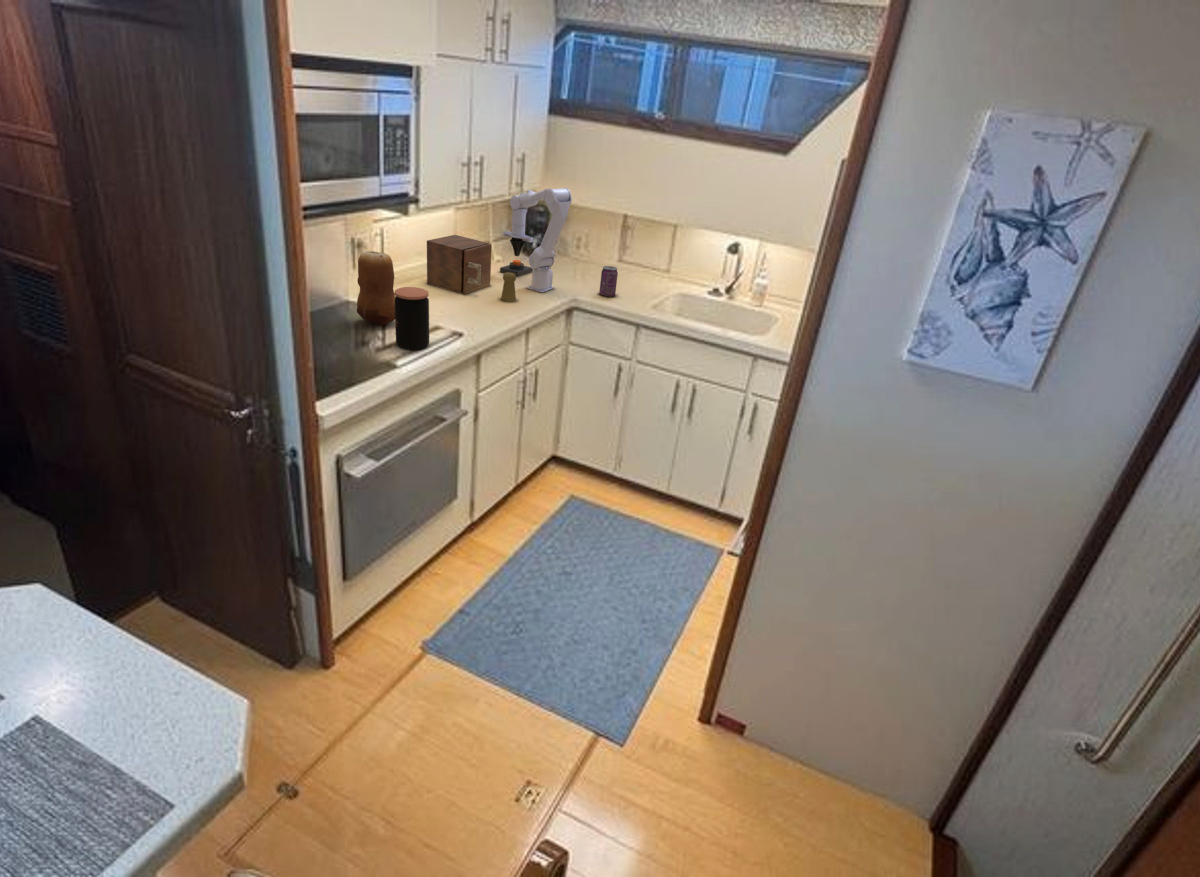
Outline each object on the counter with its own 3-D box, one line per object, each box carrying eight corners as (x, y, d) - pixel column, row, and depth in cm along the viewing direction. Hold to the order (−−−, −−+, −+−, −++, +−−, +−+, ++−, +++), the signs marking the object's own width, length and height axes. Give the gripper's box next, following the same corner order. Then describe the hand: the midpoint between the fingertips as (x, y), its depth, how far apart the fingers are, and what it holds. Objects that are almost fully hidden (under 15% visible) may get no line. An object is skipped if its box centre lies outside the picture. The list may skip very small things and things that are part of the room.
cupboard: (487, 285, 296) (489, 243, 288) (461, 293, 282) (461, 249, 274) (454, 276, 303) (455, 234, 295) (427, 283, 289) (426, 240, 281)
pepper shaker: (513, 302, 278) (514, 275, 273) (498, 300, 279) (500, 273, 274) (517, 298, 284) (519, 272, 278) (503, 296, 284) (504, 270, 279)
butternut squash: (391, 315, 250) (389, 246, 239) (404, 328, 241) (402, 256, 229) (352, 319, 243) (348, 247, 231) (364, 331, 233) (360, 258, 222)
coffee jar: (407, 337, 234) (405, 284, 225) (435, 343, 231) (435, 290, 223) (389, 346, 224) (387, 292, 216) (418, 353, 222) (417, 299, 214)
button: (515, 263, 320) (515, 259, 319) (522, 264, 319) (522, 261, 318) (511, 264, 317) (511, 260, 316) (517, 266, 316) (517, 262, 315)
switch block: (514, 267, 326) (515, 259, 324) (532, 272, 322) (533, 263, 320) (499, 272, 317) (500, 263, 315) (517, 277, 313) (518, 268, 311)
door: (501, 288, 294) (503, 246, 286) (477, 297, 279) (478, 253, 271) (488, 285, 296) (489, 243, 288) (463, 294, 282) (463, 250, 273)
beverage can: (605, 291, 308) (608, 264, 302) (618, 295, 304) (621, 268, 299) (595, 294, 302) (598, 267, 297) (609, 298, 299) (612, 271, 293)
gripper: (499, 222, 298) (498, 253, 305) (527, 228, 293) (525, 260, 299) (509, 220, 304) (507, 251, 310) (536, 226, 298) (534, 258, 305)
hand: (517, 255), depth 305 cm, fingers closed
